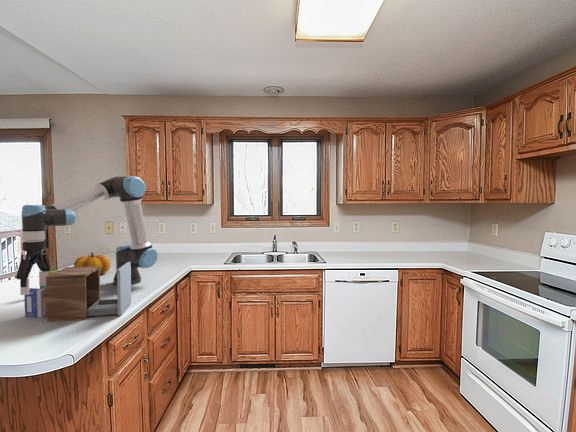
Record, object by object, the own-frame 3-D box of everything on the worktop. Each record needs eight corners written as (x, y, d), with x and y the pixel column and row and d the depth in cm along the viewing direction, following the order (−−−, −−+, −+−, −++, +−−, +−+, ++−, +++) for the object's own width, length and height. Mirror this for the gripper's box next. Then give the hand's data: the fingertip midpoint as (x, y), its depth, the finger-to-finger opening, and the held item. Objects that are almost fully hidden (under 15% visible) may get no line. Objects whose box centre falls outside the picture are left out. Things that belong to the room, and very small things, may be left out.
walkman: (25, 316, 129) (24, 289, 129) (31, 314, 132) (30, 287, 131) (41, 317, 128) (40, 289, 128) (47, 315, 131) (46, 288, 131)
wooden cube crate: (66, 307, 140) (65, 267, 139) (100, 305, 144) (99, 266, 143) (47, 321, 124) (45, 276, 123) (85, 318, 127) (84, 274, 126)
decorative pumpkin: (65, 277, 196) (64, 254, 196) (96, 269, 217) (96, 249, 217) (88, 279, 190) (87, 256, 189) (118, 272, 211) (117, 251, 210)
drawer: (99, 304, 144) (99, 263, 143) (131, 302, 147) (130, 261, 146) (85, 317, 127) (84, 271, 126) (120, 315, 130) (120, 269, 129)
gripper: (40, 237, 140) (40, 283, 141) (3, 244, 116) (4, 299, 116) (58, 237, 142) (59, 282, 142) (26, 244, 117) (27, 298, 118)
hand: (34, 290), depth 129 cm, fingers open, 13 cm apart
